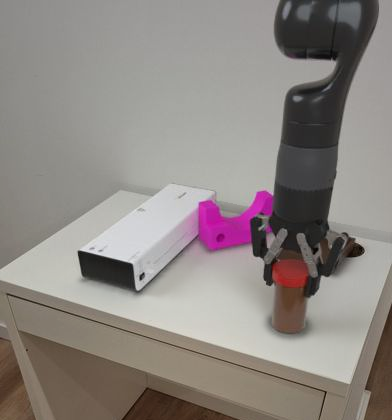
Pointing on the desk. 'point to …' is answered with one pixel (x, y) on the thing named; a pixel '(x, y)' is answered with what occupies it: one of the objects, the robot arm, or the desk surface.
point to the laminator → (145, 238)
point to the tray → (325, 253)
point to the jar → (289, 308)
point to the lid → (290, 273)
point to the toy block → (230, 222)
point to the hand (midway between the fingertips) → (289, 289)
